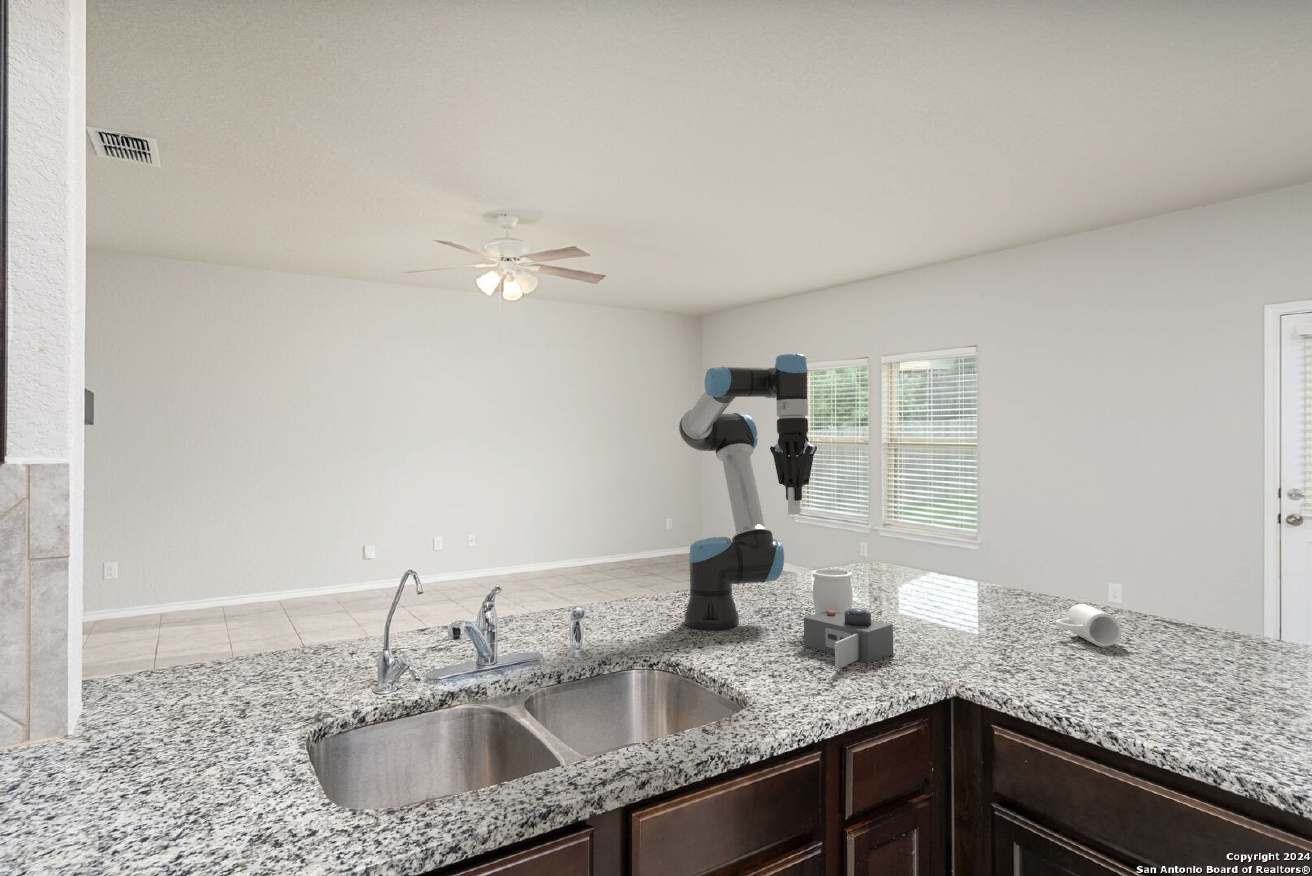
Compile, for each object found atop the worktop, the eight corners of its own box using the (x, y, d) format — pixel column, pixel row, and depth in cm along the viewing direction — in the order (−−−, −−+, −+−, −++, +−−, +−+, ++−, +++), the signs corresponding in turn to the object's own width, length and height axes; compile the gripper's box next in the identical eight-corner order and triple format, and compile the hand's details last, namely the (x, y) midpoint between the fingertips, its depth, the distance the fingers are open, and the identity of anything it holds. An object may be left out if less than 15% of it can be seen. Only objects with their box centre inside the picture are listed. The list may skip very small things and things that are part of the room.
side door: (838, 669, 144) (837, 643, 145) (834, 668, 145) (834, 642, 145) (860, 658, 151) (859, 633, 151) (856, 657, 152) (855, 633, 152)
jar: (858, 633, 174) (856, 575, 174) (818, 634, 174) (816, 576, 174) (847, 623, 184) (846, 568, 185) (809, 623, 185) (808, 568, 185)
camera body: (803, 646, 164) (802, 605, 164) (829, 638, 170) (828, 598, 170) (868, 663, 150) (867, 618, 150) (893, 654, 156) (892, 611, 156)
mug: (1099, 635, 168) (1098, 603, 169) (1122, 647, 158) (1121, 613, 159) (1048, 635, 170) (1047, 603, 170) (1069, 646, 160) (1068, 613, 160)
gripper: (761, 418, 167) (763, 513, 167) (803, 416, 157) (805, 517, 157) (781, 419, 172) (783, 511, 172) (823, 416, 162) (825, 514, 161)
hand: (794, 513), depth 164 cm, fingers closed
